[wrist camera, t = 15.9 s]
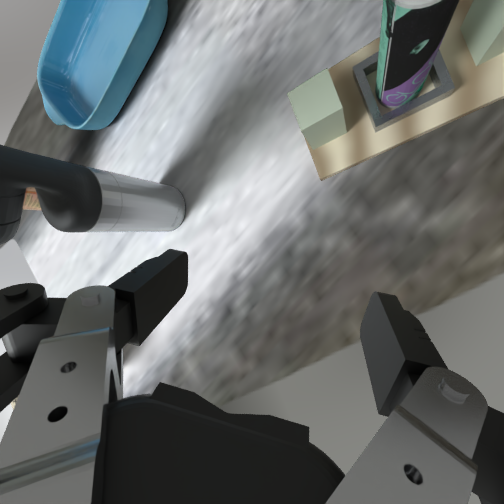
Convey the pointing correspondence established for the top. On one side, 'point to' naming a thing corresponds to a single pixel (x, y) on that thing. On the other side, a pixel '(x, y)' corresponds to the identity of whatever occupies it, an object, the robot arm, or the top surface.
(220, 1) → the top surface
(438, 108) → the wooden board
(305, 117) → the sage pillars
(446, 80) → the metal collar
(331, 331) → the top surface
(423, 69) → the spray can
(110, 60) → the casserole dish
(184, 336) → the top surface
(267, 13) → the top surface
